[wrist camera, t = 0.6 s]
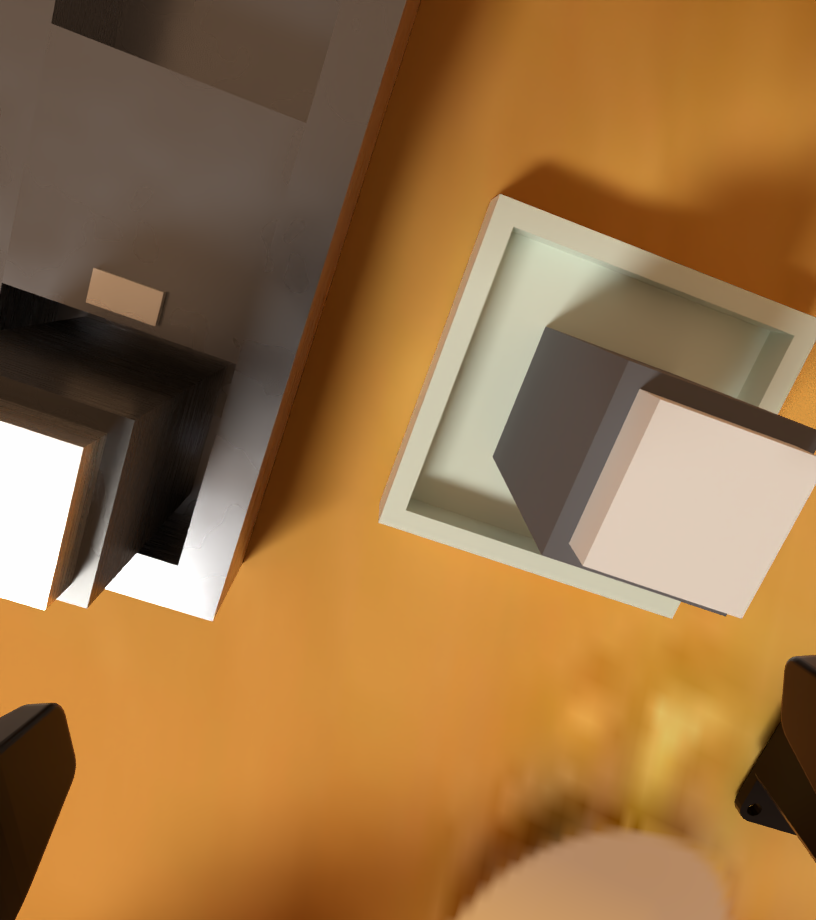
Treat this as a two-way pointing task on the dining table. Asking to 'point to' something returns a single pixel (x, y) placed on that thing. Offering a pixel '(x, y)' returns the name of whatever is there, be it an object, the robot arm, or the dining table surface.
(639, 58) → the dining table surface
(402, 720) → the dining table surface
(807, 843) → the robot arm
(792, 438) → the plug
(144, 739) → the dining table surface
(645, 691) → the dining table surface
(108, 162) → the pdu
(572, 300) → the tray
